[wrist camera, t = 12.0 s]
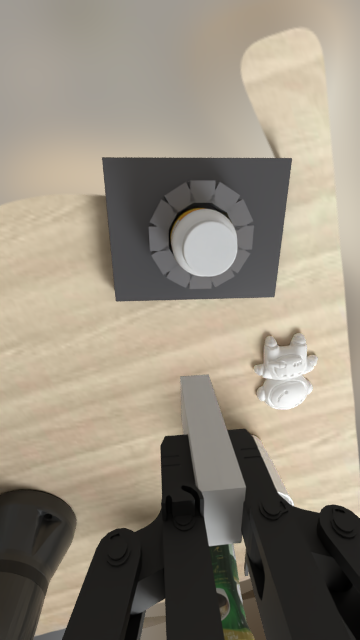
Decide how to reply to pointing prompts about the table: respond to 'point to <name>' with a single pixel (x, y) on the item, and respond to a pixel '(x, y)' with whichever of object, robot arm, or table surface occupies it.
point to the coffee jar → (229, 593)
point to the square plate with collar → (185, 193)
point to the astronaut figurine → (285, 373)
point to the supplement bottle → (203, 241)
